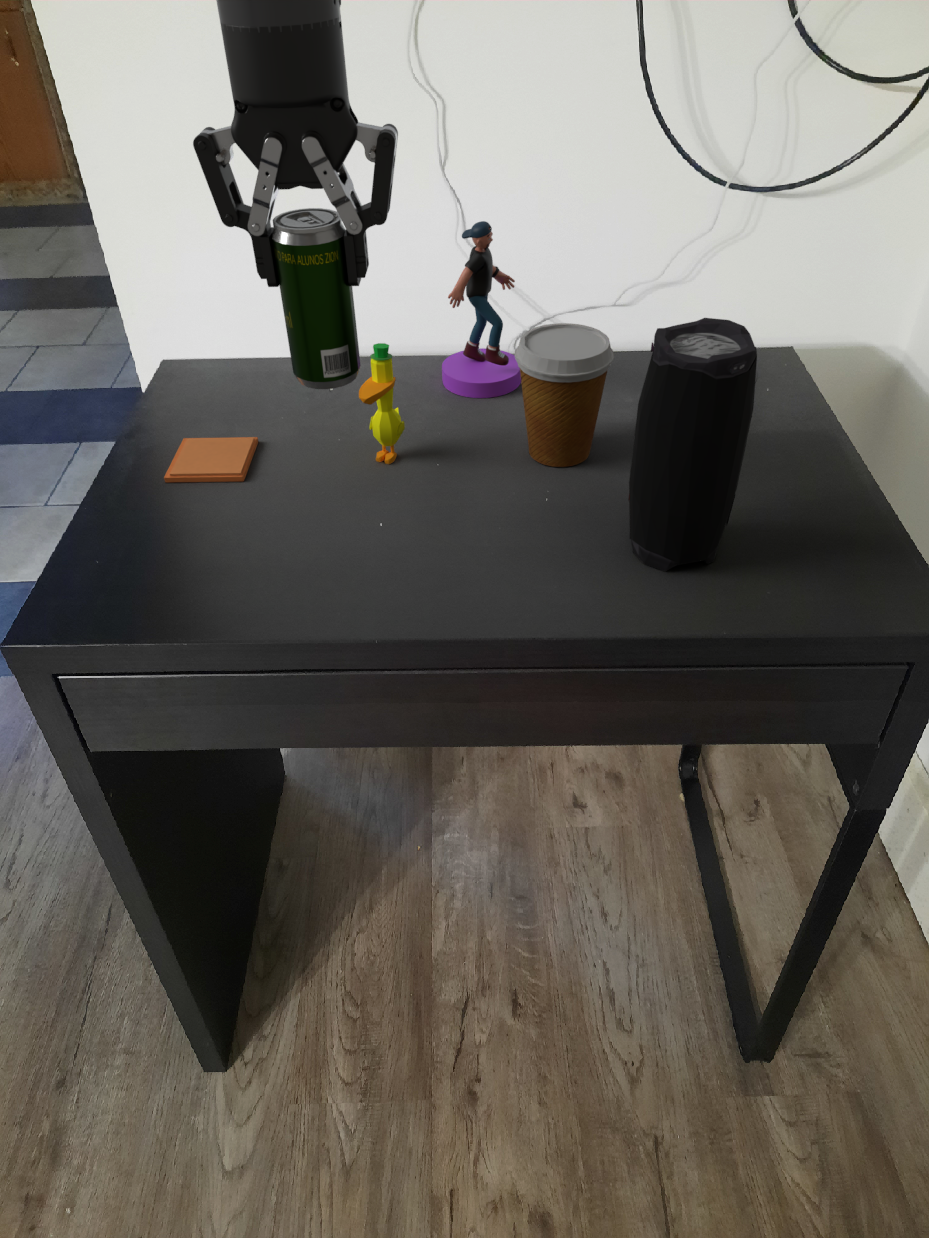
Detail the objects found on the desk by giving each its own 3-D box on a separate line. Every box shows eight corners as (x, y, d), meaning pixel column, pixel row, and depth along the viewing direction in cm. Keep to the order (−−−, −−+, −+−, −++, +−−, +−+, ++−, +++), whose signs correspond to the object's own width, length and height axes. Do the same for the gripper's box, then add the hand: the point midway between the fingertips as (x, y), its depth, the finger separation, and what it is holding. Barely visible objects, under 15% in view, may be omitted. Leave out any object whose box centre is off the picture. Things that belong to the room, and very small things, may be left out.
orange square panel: (165, 482, 91) (162, 475, 90) (184, 443, 97) (182, 435, 96) (243, 481, 91) (242, 474, 90) (258, 442, 97) (257, 434, 96)
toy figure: (385, 478, 90) (375, 366, 83) (354, 471, 92) (341, 360, 84) (415, 447, 95) (408, 337, 87) (385, 441, 96) (376, 332, 88)
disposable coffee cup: (620, 466, 91) (632, 353, 83) (532, 483, 89) (536, 369, 81) (583, 423, 98) (590, 315, 90) (500, 438, 96) (500, 329, 88)
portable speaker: (605, 556, 80) (625, 344, 67) (654, 508, 85) (682, 304, 73) (694, 591, 76) (734, 372, 63) (740, 538, 81) (785, 327, 69)
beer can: (374, 377, 72) (359, 219, 64) (316, 397, 69) (293, 236, 61) (338, 355, 75) (319, 202, 67) (281, 374, 72) (255, 218, 65)
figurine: (512, 401, 102) (515, 237, 91) (433, 394, 104) (425, 232, 93) (527, 366, 109) (531, 209, 98) (453, 360, 111) (448, 205, 99)
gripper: (148, 23, 54) (208, 304, 65) (388, 17, 53) (407, 301, 64) (182, 6, 59) (231, 267, 70) (399, 1, 59) (415, 264, 70)
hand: (315, 282), depth 67 cm, fingers closed on beer can, 5 cm apart
